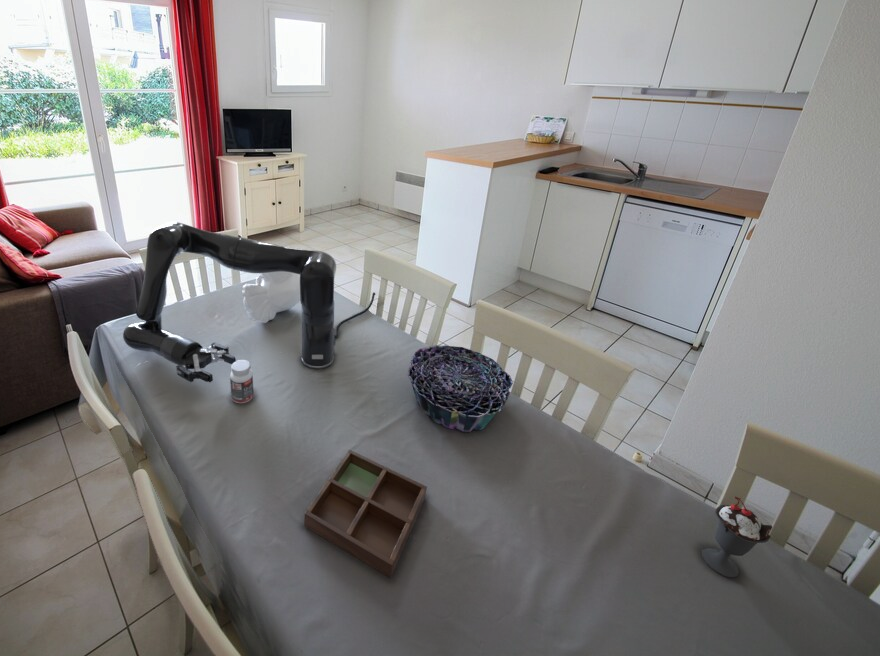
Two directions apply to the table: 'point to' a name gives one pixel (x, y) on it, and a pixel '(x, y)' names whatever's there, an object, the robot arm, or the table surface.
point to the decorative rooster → (271, 295)
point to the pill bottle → (241, 382)
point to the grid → (367, 511)
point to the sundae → (734, 537)
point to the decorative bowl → (458, 386)
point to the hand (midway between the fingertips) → (223, 369)
